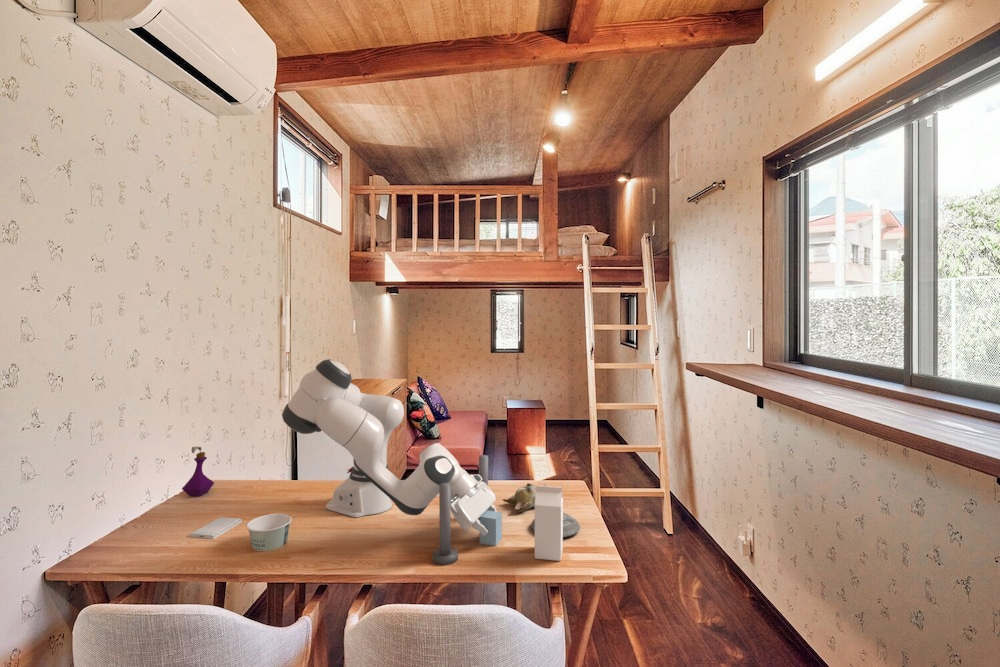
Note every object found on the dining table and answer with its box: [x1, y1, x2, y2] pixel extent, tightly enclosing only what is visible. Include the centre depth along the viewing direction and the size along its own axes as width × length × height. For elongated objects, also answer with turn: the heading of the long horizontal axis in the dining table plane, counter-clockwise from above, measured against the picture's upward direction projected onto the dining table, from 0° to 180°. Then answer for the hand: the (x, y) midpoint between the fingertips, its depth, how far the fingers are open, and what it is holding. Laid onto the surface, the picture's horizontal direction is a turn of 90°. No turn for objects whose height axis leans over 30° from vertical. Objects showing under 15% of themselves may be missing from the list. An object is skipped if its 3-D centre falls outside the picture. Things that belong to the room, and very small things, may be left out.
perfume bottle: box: [181, 446, 215, 497], centre depth 185 cm, size 8×8×18 cm
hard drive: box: [189, 516, 243, 540], centre depth 156 cm, size 2×8×12 cm
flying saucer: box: [530, 512, 581, 538], centre depth 155 cm, size 15×15×6 cm
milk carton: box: [534, 485, 564, 562], centre depth 139 cm, size 7×7×19 cm
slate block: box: [479, 510, 503, 547], centre depth 147 cm, size 5×5×8 cm
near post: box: [431, 483, 459, 566], centre depth 137 cm, size 7×7×20 cm
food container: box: [245, 513, 293, 552], centre depth 146 cm, size 12×12×6 cm
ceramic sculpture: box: [502, 483, 548, 513], centre depth 173 cm, size 11×9×15 cm
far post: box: [478, 454, 489, 521], centre depth 163 cm, size 7×7×20 cm
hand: (492, 526), depth 147 cm, fingers open, 8 cm apart
